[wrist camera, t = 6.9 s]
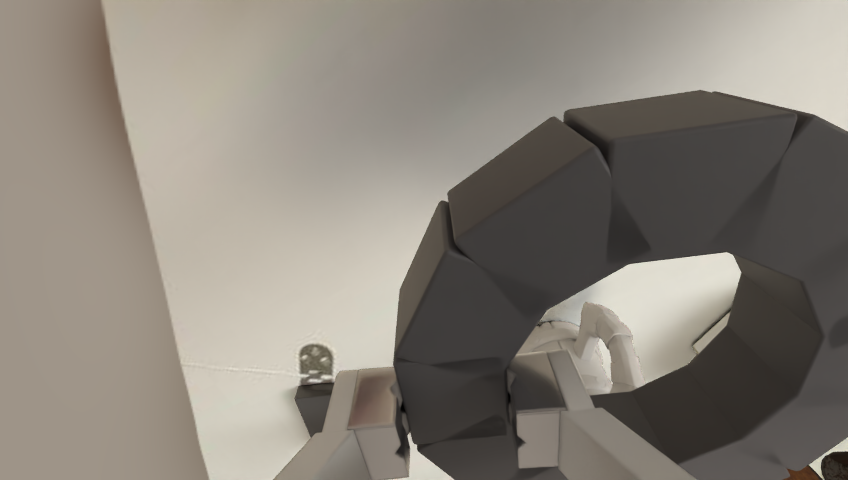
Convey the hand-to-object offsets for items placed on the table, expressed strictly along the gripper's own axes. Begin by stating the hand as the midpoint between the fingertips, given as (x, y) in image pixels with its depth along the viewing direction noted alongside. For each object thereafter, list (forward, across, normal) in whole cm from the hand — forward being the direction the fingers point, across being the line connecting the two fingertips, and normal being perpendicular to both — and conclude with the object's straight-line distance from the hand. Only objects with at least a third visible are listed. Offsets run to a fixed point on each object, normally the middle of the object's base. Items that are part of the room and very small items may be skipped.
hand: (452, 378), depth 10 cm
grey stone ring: (+2, -4, 0) cm, 5 cm away
